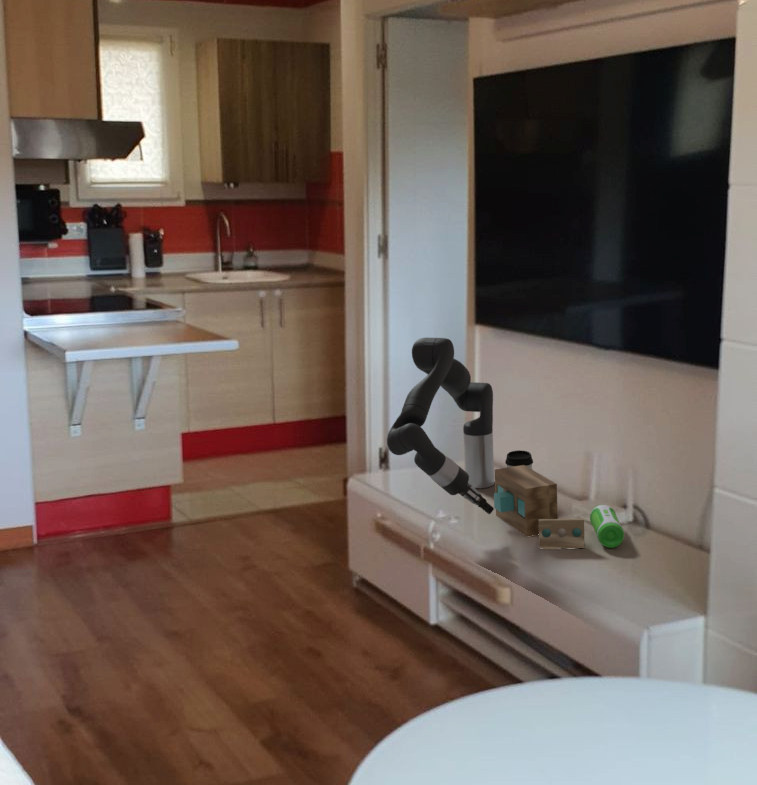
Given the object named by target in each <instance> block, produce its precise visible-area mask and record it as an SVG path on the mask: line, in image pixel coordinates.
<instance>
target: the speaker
mask: <svg viewBox="0 0 757 785" xmlns="http://www.w3.org/2000/svg"><path fill="white" fill-rule="evenodd" d="M589 520H590V524H591V526H592V527H593V530H594V532H595V535H596V538H597V541H598V542H599V543H600V544H601V545H602V546H604V547H605V548H608V549H609V548H611V549H612V548H617V547H619V546H620V545H621V544H622V542H623V540H624V538H625V531H624V527H623V526H622V525H621V523H620V521H619V519H618V517H617V514H616V511H615V510H614V509H613V507H611V506H610V505H606V504H599V505H596V506H595V507H594V508H593V509H592V510H591V512H590V515H589Z"/></svg>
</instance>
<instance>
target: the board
mask: <svg viewBox="0 0 757 785" xmlns="http://www.w3.org/2000/svg"><path fill="white" fill-rule="evenodd" d="M538 547H539V548H543V549H542V550H559V549H558V548H585V518H558V519H539V535H538ZM539 548H538V549H539ZM585 549H586V548H585Z"/></svg>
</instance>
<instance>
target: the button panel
mask: <svg viewBox="0 0 757 785" xmlns="http://www.w3.org/2000/svg"><path fill="white" fill-rule="evenodd" d="M497 485H499V486H501V487H502V488H503V491H504V492H506V491H509V492H510V493H512V494H513V495H514V510H513V511H507V512H499V511H498V510H496V509H495V516H497V517H498V518H499V519H500V520H502V521H504V523H506V524H508V526H511V527H512V528H514V529H515V530H517V531H518V532H519V533H520V532H521V534H522V535H523V534H524V535H523V536H524V537H526V536H531V537H533V536H532V535H536V536H539V535H538V534H539V519H559V518H558V516H559V515H558V483H556V482H554V481H552V480H551V479H549V478H548V477H546V476H545V475H543V474H540V473H539V472H537V471H535V470H534V469H533V468H532V469H530V468H528V467H527V466H525V465H521V466H514V467H508V468H507V467H503V468H494V493H498V486H497ZM518 498H519V499H521V500H523V501H524V505H525V517H523V516H522V515H520V514H519V513H518Z"/></svg>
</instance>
